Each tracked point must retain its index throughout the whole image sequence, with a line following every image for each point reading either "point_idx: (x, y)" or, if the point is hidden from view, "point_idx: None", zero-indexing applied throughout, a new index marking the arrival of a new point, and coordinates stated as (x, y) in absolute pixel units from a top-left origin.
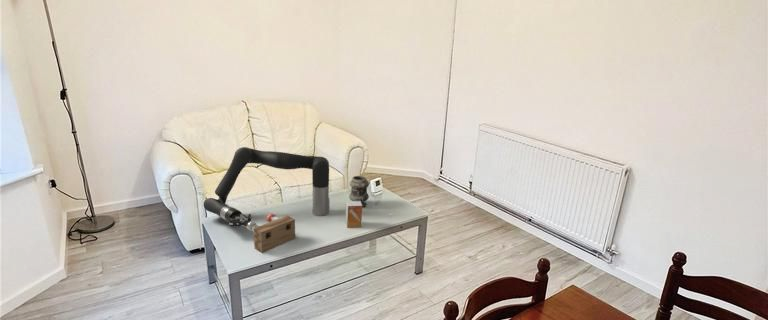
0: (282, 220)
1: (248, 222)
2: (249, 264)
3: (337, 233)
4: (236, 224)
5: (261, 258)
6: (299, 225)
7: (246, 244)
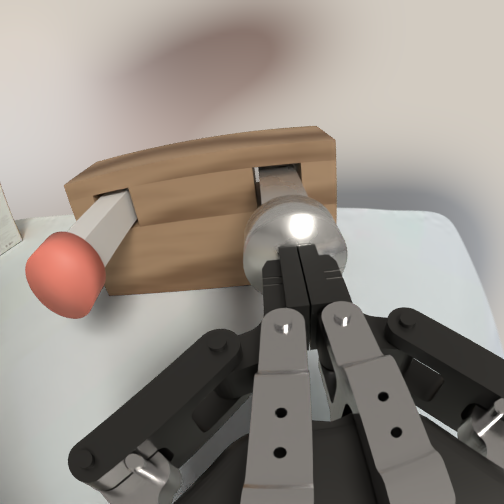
0: (133, 158)
1: (319, 217)
2: (391, 212)
3: (55, 231)
4: (434, 392)
5: (339, 219)
6: (16, 323)
7: None
